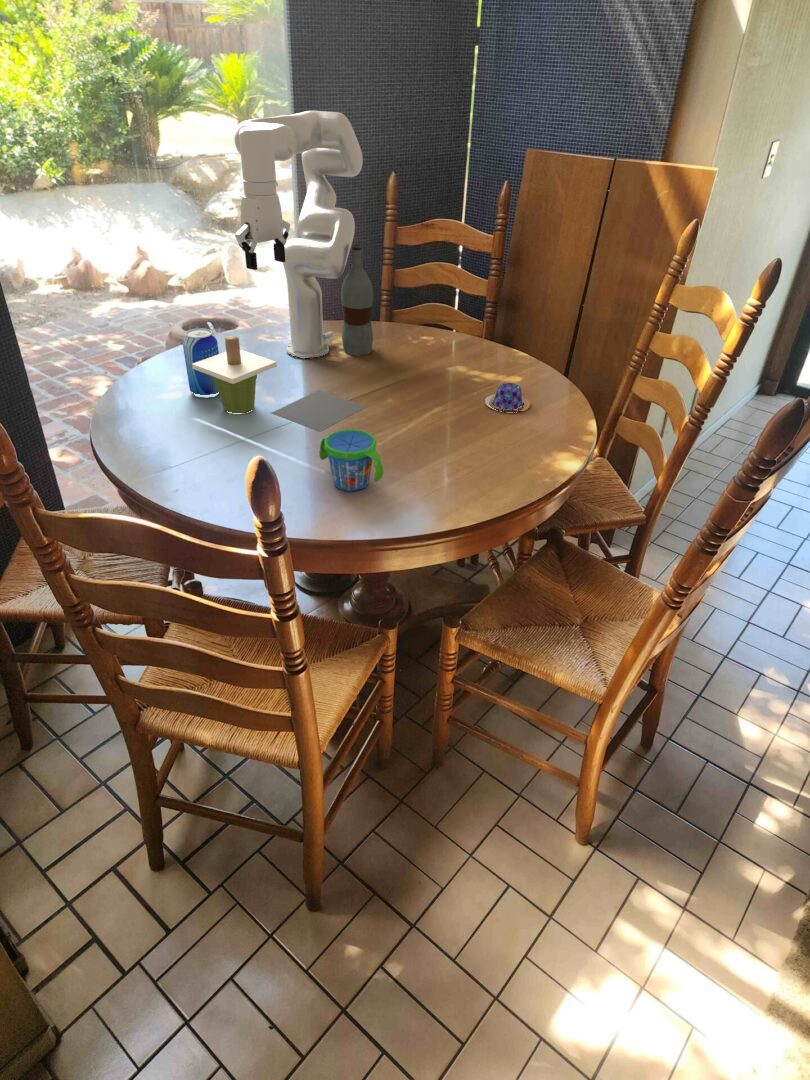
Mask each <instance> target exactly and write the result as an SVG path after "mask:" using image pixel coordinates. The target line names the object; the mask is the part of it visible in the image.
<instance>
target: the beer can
mask: <svg viewBox="0 0 810 1080" xmlns="http://www.w3.org/2000/svg"><path fill="white" fill-rule="evenodd" d="M218 344H219V343H218V340H217V338H216V337H215V335H214V334H213V331H212V330H211V329H209V328H203V327H202V328H201V327H200V328H192V329H188V330H187V331H185V333H184V338H183V340H182V347H183V354H184V362H185V368H186V374H187V379H188V387H189V391H190V392H191V393H192V392H193V393H195V394H200V395H210V394H216V393H218V392H219V391H218V387H217V384H216V382H215V380H214V377H213V376H211V375H208V374H205V373H203V372H200V371H198V370H195V369H193V368H192V364H193V363H196V362H198V361H201V360H204V359H207V358H210V357H212V356H215V355H218V354H220V351H219V345H218ZM193 393H192V394H193Z"/></svg>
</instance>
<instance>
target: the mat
mask: <svg viewBox="0 0 810 1080" xmlns="http://www.w3.org/2000/svg"><path fill="white" fill-rule="evenodd" d="M367 407H368V406H366V405H363V404H360V403H358V402H355V401H352V400H349V399H346V398H344V397H341V396H338V395H334V394H333V393H329V392H326V391H322V389H321V390H320V389H319V390H316V391H314V392H312V393H310V394H307V395H306V396H303V397H301V398H300V399H297V400H295V401H293V402H291V403H288V404H287V405H285V406H283V407H279V408H278V409H276V410H274V411H272V412H271V415H272V414H273V415H275V416H278V417H280V418H283V419H285V420H287V421H290V422H294V423H296V424H298V425H301V426H303V427H306V428H309V429H311V430H315V431H316V432H323V431H324V430H325V429H328V428H330V427H332V426H333V425H335V424H337V423H339V422H341V421H343V420H344V419H346V418H347V419H348V417H350V416H352V415H354V414H356V413H358V412H359V411H362V410H364V409H366V408H367Z"/></svg>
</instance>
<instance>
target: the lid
mask: <svg viewBox="0 0 810 1080" xmlns="http://www.w3.org/2000/svg"><path fill="white" fill-rule="evenodd" d="M224 342H225V343H224V345H225V350H226V351H224V352H221V353H219V354H218V355H215V356H212V357H210V358H207V359H204V360H201V361H198V362H196V363H193V364H192V368H193V369H195V370H198V371H200V372H203V373H205V374H208V375H211V376H213V377H216V378H219V379H221V380H224V381H226V382H229V383H232V384H234V383H237V382H239V381H242V380H244V379H247V378H249V377H252V376H254V375H257V376H258V375H259V374H262V373H264V372H267V371H269V370H271V369H272V370H273V369H274V368H277V361H275V360H272V359H269V358H267V357H265V356H261V355H258V354H255V353H252V352H249V351H246V350H243V349H240V337H239V336H236V335H228V336H226V337H224Z"/></svg>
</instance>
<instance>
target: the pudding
mask: <svg viewBox="0 0 810 1080" xmlns="http://www.w3.org/2000/svg"><path fill="white" fill-rule="evenodd" d="M493 396H495V397H494V399H493V401H492V403H493V404H495V405H494V407H495V406H496V407H499V408H501V407H502V408H503V409H511V408H512V409H517V408H518V407H520V406H522V405H523V401H522V397H523V393H522V388H521V386H520V385H518V384H516V383H514V382H504V383H503V382H502V383H501V384H499V386H497V389H496V392H495V393H494V394H493V393H492V394H491V395H488V396H487V397H486V398H485V400H484V403H485V404H486V406H487V407H489V408H490V409H492V410H494V411H498V410H496V409H494V408H492V407H491V406H490V405H489V401H490V399H491V398H492V397H493ZM493 404H492V405H493ZM523 406H524V405H523ZM496 407H495V408H496ZM498 412H499V411H498ZM501 412H502V411H500V413H501ZM502 413H503V412H502ZM507 413H511V414H512V413H513V412H507ZM514 413H515V412H514ZM514 413H513V414H514Z"/></svg>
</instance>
